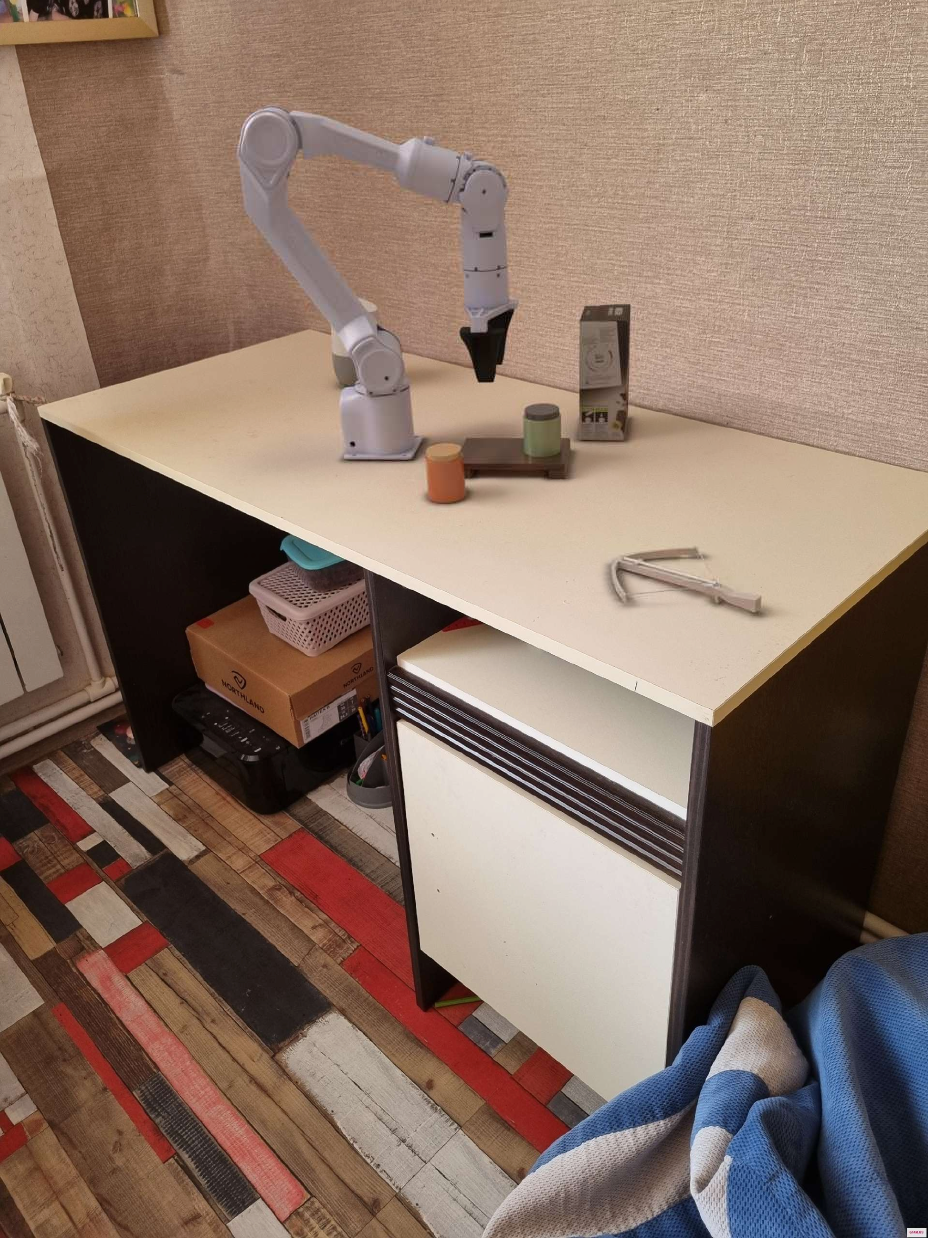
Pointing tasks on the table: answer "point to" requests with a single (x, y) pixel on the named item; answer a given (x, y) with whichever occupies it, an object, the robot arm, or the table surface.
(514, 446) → the stand
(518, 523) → the table surface
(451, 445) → the spice jar
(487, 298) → the robot arm
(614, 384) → the coffee box
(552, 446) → the sage pot
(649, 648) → the table surface
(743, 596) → the crossbow
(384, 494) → the table surface
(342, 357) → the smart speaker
